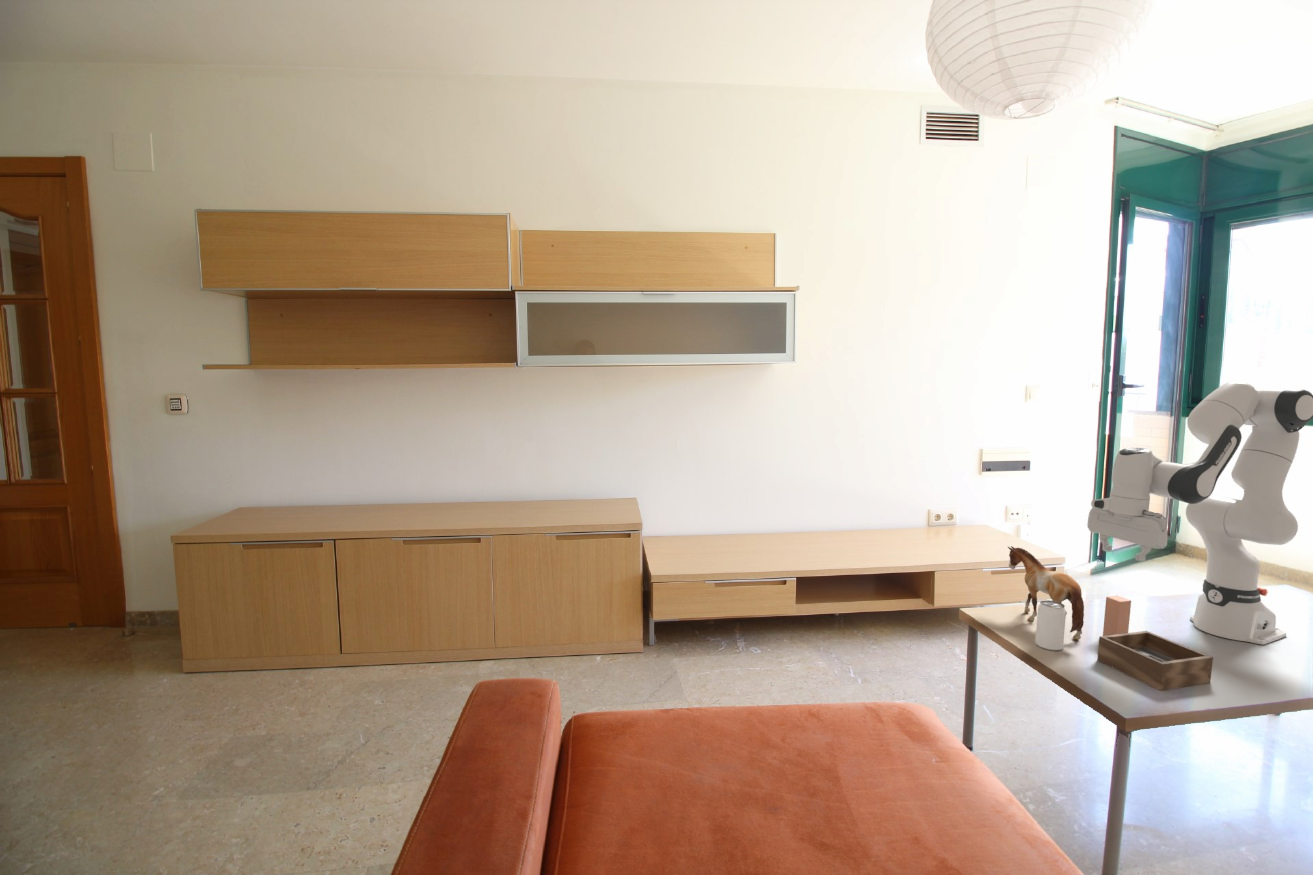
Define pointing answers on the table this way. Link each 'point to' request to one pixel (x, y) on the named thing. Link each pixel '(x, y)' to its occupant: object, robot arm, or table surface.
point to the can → (1050, 625)
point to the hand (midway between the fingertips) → (1122, 555)
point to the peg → (1116, 615)
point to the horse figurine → (1049, 587)
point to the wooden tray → (1155, 660)
